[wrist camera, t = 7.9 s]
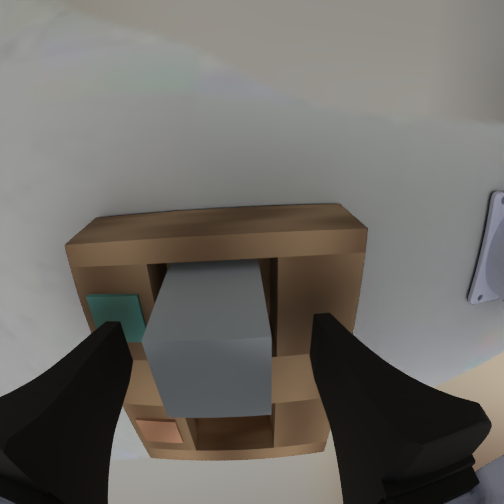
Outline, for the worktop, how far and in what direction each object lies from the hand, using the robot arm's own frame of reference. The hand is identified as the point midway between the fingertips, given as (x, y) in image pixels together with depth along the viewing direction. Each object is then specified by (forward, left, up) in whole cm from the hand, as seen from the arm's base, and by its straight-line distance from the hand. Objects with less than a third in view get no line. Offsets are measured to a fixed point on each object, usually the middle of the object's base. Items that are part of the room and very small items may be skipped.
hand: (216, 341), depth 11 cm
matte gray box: (0, 0, -5) cm, 5 cm away
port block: (0, +5, -5) cm, 7 cm away
